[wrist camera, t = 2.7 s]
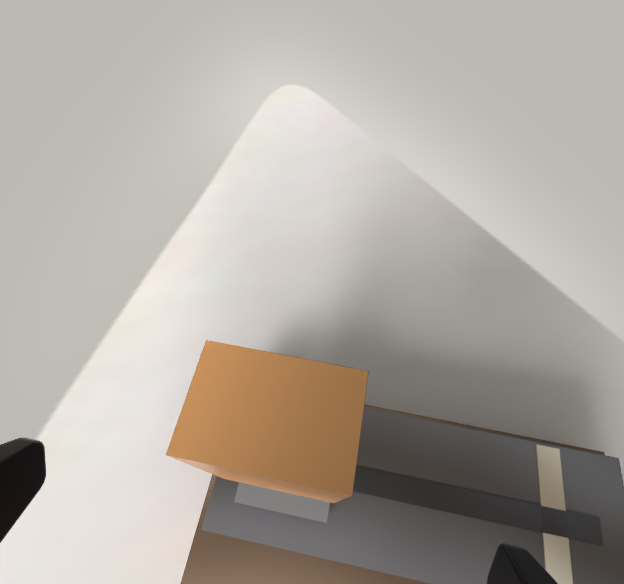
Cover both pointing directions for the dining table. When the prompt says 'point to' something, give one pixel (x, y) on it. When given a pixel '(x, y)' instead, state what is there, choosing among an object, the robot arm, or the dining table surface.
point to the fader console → (427, 513)
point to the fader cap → (273, 427)
